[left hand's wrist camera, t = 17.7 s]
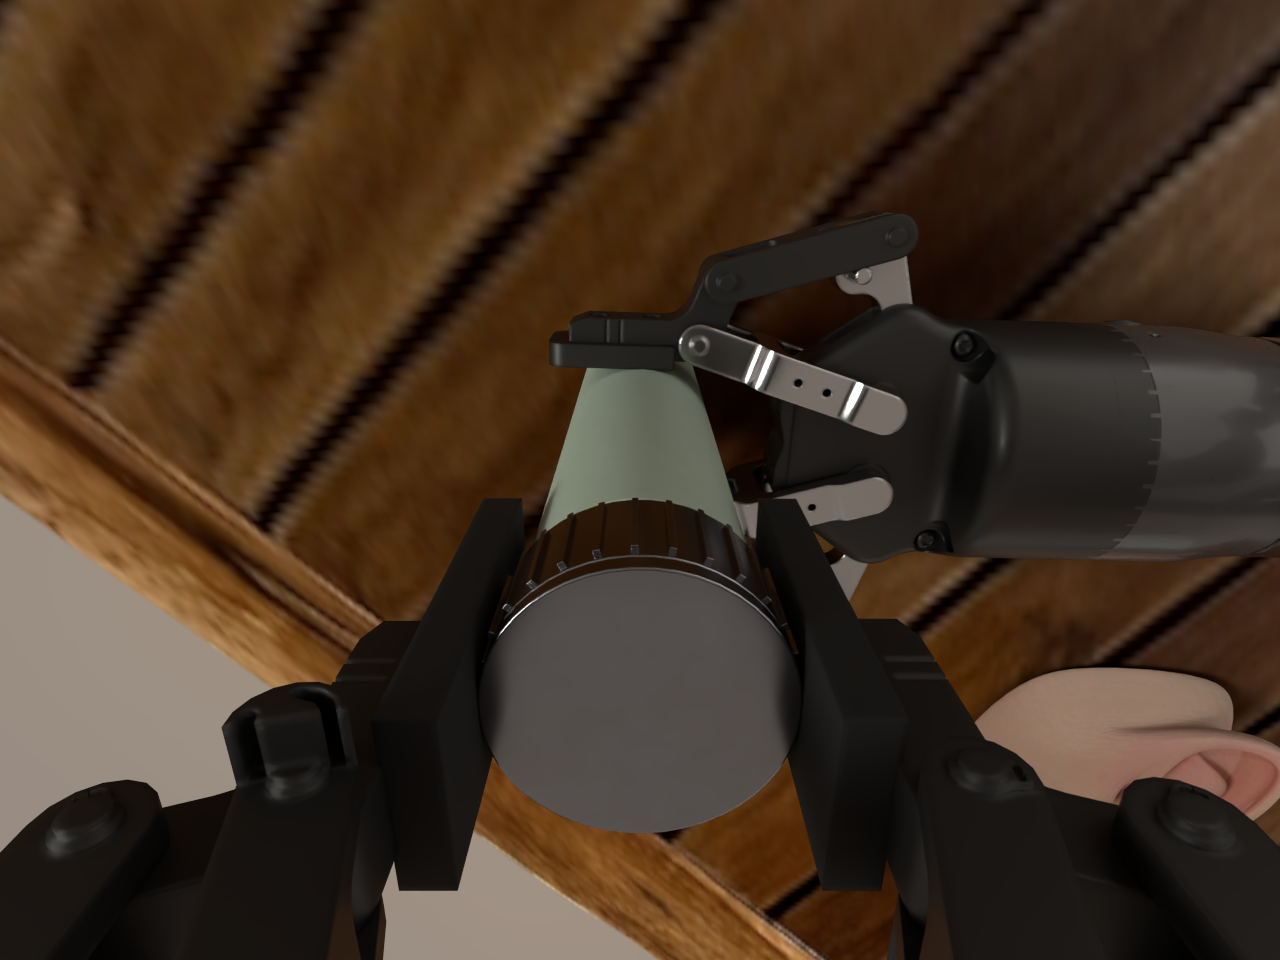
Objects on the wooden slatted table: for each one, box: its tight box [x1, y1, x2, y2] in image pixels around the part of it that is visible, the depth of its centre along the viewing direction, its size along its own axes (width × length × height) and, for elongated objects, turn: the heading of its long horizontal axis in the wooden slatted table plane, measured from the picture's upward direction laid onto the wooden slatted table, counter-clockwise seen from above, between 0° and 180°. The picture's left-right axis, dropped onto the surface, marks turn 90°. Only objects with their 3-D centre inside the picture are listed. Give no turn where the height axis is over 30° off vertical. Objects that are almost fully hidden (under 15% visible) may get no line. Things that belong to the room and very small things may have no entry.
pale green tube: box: [534, 362, 746, 543], centre depth 20 cm, size 4×4×20 cm
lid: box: [477, 498, 803, 833], centre depth 12 cm, size 5×5×2 cm
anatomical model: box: [975, 668, 1280, 820], centre depth 34 cm, size 13×4×12 cm
